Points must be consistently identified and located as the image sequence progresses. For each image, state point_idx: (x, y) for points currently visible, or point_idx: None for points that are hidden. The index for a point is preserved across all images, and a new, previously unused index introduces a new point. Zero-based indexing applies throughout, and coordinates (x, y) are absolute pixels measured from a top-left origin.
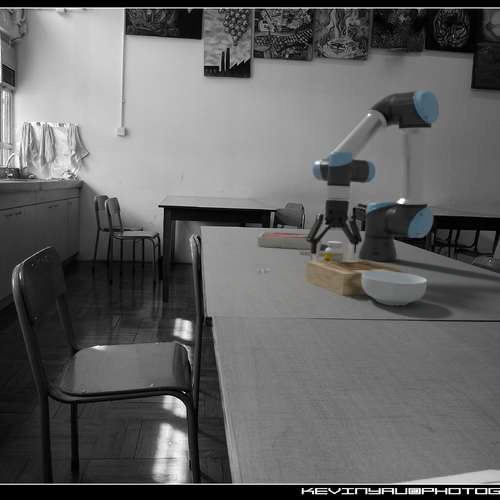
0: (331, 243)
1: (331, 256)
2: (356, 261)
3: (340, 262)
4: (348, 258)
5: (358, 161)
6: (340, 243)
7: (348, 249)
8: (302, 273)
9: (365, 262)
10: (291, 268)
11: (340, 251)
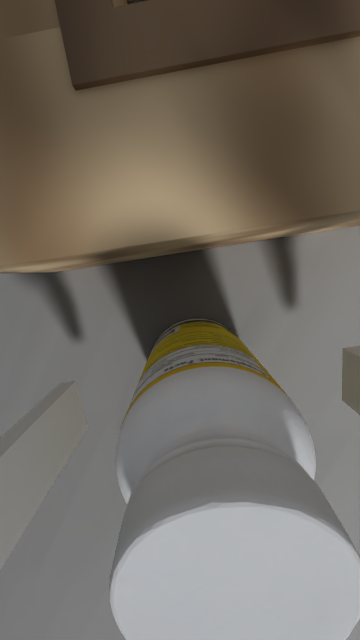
0: (340, 526)
1: (266, 372)
2: (95, 161)
3: (306, 97)
4: (69, 435)
5: None
6: (173, 502)
7: (24, 514)
8: (340, 398)
9: (16, 90)
10: (330, 504)
11: (183, 385)
